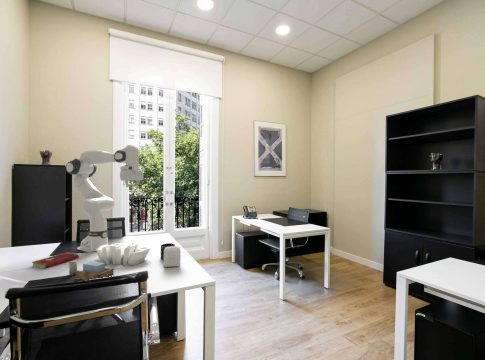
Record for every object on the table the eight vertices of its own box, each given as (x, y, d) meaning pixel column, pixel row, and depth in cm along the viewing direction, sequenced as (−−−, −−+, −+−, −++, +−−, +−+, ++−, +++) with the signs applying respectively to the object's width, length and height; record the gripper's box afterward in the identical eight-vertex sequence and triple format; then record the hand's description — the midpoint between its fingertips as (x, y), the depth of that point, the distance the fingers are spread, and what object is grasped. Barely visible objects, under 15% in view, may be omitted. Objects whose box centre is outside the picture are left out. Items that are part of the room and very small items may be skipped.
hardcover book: (78, 260, 167) (78, 253, 167) (44, 271, 147) (44, 264, 147) (66, 258, 171) (66, 251, 171) (31, 268, 152) (31, 261, 152)
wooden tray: (113, 276, 140) (113, 268, 140) (99, 282, 131) (99, 274, 131) (90, 272, 144) (90, 265, 144) (75, 279, 135) (75, 270, 135)
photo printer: (180, 264, 160) (180, 245, 160) (180, 266, 156) (180, 246, 156) (163, 265, 158) (163, 245, 158) (163, 267, 154) (163, 247, 153)
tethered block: (104, 276, 139) (104, 263, 139) (97, 279, 134) (97, 266, 134) (74, 271, 145) (74, 259, 145) (66, 275, 140) (66, 261, 140)
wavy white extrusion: (88, 264, 159) (88, 247, 159) (105, 256, 175) (105, 241, 175) (140, 266, 155) (140, 249, 155) (152, 258, 172) (153, 243, 172)
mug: (172, 261, 165) (172, 247, 165) (157, 259, 169) (157, 246, 169) (180, 257, 174) (180, 244, 174) (166, 255, 178) (166, 242, 178)
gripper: (138, 168, 191) (138, 186, 191) (118, 167, 172) (118, 187, 172) (145, 168, 189) (145, 186, 189) (125, 167, 170) (125, 187, 170)
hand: (132, 186), depth 180 cm, fingers open, 8 cm apart
